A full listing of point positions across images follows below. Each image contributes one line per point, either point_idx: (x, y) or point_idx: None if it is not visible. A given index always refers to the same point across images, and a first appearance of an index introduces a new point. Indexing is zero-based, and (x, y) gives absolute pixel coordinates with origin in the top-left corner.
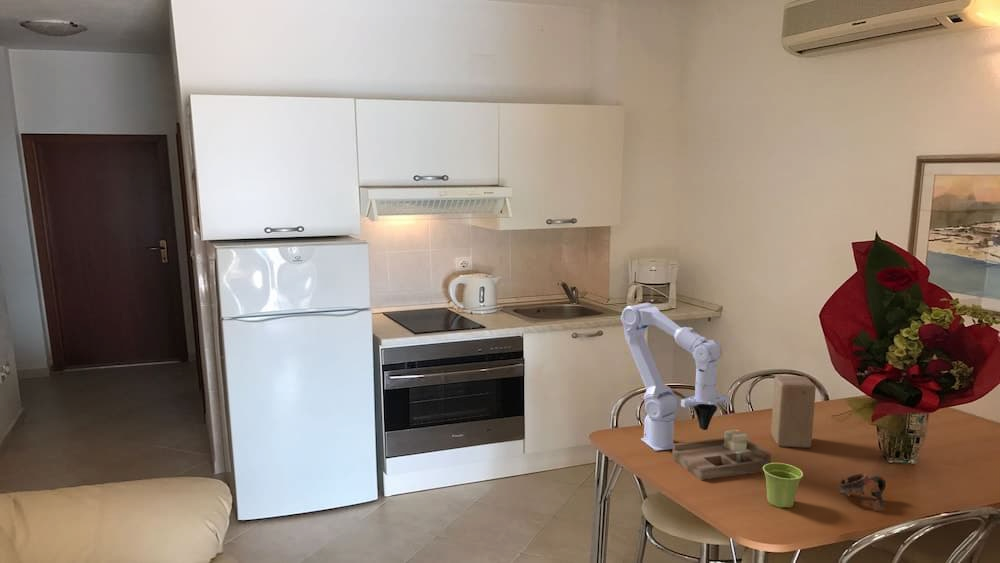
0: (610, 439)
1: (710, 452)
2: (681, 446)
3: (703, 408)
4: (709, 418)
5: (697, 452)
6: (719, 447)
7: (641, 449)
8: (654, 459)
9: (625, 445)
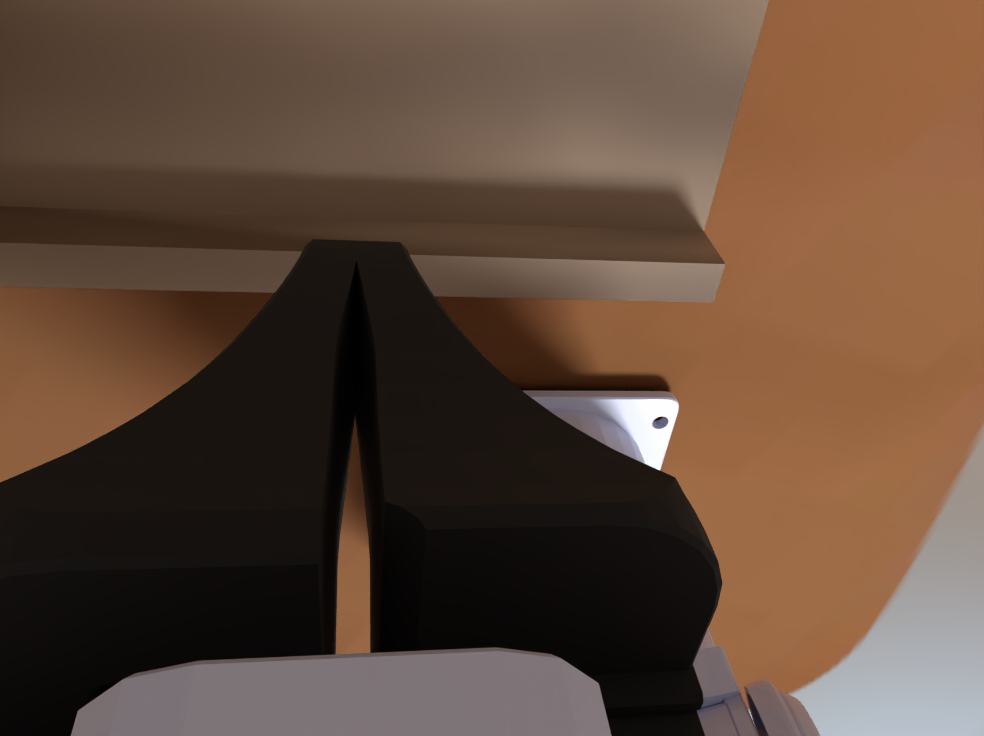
0: (804, 621)
1: (299, 5)
2: (620, 246)
3: (588, 610)
4: (286, 356)
5: (486, 72)
6: (59, 118)
7: (748, 449)
8: (822, 251)
9: (796, 530)
